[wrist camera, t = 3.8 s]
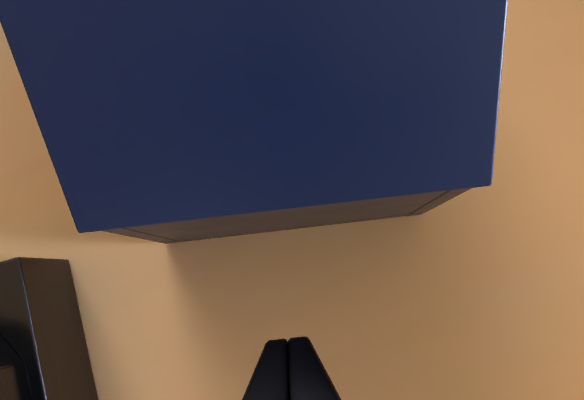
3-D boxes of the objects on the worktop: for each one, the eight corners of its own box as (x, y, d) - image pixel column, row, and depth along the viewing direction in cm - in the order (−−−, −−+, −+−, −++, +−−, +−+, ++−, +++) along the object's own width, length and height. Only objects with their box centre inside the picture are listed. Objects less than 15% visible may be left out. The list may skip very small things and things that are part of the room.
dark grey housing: (148, 6, 25) (75, -114, 17) (385, -23, 24) (420, -160, 17) (164, 243, 23) (89, 229, 15) (422, 214, 22) (481, 183, 15)
